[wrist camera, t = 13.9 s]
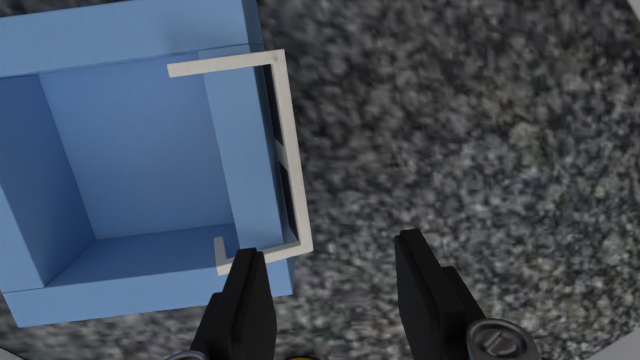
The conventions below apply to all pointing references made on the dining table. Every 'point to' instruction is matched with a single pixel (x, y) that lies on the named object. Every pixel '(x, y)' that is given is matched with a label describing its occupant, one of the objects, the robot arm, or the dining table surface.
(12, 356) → the plate stack
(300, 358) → the yellow winged triple ring
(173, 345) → the dining table surface
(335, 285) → the dining table surface
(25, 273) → the bin
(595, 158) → the dining table surface
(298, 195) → the white sunglasses
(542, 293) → the dining table surface
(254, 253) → the robot arm
